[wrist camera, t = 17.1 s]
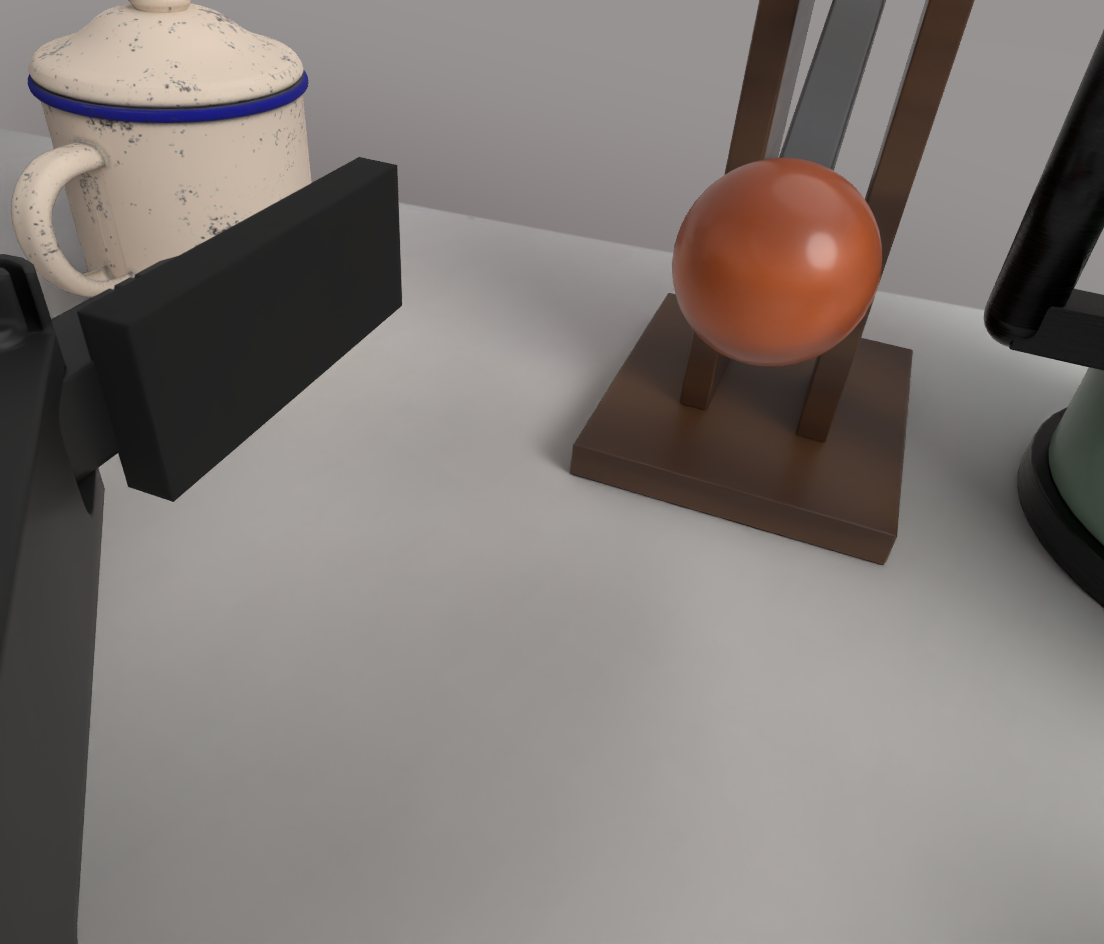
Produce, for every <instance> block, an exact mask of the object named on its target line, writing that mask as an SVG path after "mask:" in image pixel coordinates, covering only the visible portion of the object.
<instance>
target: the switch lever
mask: <svg viewBox="0 0 1104 944" xmlns="http://www.w3.org/2000/svg"><path fill="white" fill-rule="evenodd" d="M885 2H886V0H833V2H832V4H831V7H830V10H829V13H828V16H827V19H826V22H825V25H824V28H823V31H822V33H821V36H820V39H819V42H818V45H817V48H816V51H815V54H814V57H813V60H812V63H811V66H810V69H809V71H808V75H807V77H806V80H805V83H804V86H803V89H802V92H801V95H800V98H799V101H798V104H797V106H796V109H795V112H794V115H793V118H792V121H791V124H790V127H789V130H788V133H787V136H786V139H785V142H784V145H783V147H782V151H781V153H780V156H779V158H770V159H764V160H760V161H756V162H752V163H749V164H746V165H743V166H741V167H738V168H736V169H734V170H732V171H730V172H729V173H727V174H726V175H724V176H723V177H721V178H720V179H718V180H717V181H715V182H714V183H713V184H712V185H711V186H709V187H708V188H707V189H706V190H705V191H704V193H703V194H702V195H701V196H700V197H699V198H698V199H697V200H696V201H695V203H694V204H693V206H692V207H691V209H690V210H689V212H688V214H687V215H686V217H685V219H684V221H683V223H682V225H681V227H680V230H679V233H678V236H677V239H676V242H675V246H674V253H673V261H672V275H673V285H674V290H675V294H676V298H677V301H678V304H679V306H680V309H681V311H682V313H683V315H684V317H685V318H686V320H687V322H688V323H689V325H690V326H691V328H692V329H693V330H694V332H695V333H696V334H697V335H698V336H699V337H700V338H701V339H702V340H703V341H704V342H705V343H706V344H707V345H709V346H710V347H711V348H713V349H714V350H715V351H717V352H719V353H720V354H722V355H724V356H726V357H728V358H730V359H733V360H735V361H738V362H741V363H744V364H749V365H754V366H762V367H782V366H789V365H794V364H798V363H802V362H805V361H807V360H810V359H812V358H815V357H817V356H819V355H821V354H823V353H825V352H827V351H829V350H830V349H831V348H833V347H834V346H836V345H837V344H838V343H840V342H841V341H842V340H844V339H845V338H846V337H847V336H848V335H849V334H850V333H851V332H852V331H853V330H854V328H855V327H856V326H857V325H858V323H859V322H860V321H861V320H862V318H863V317H864V316H865V314H866V312H867V310H868V308H869V306H870V305H871V303H872V301H873V299H874V296H875V293H876V290H877V287H878V284H879V280H880V275H881V269H882V245H881V239H880V233H879V228H878V226H877V223H876V220H875V217H874V215H873V213H872V211H871V209H870V207H869V205H868V203H867V202H866V201H865V199H864V198H863V197H862V195H861V194H860V193H859V192H858V190H857V189H856V188H855V187H854V186H853V185H852V184H851V183H850V182H849V181H847V180H846V179H845V178H843V177H842V176H841V175H839V174H837V173H836V172H834V168H835V165H836V161H837V158H838V155H839V152H840V148H841V145H842V142H843V139H844V135H845V132H846V129H847V126H848V122H849V119H850V116H851V112H852V109H853V105H854V103H855V99H856V96H857V93H858V90H859V87H860V83H861V80H862V77H863V74H864V71H865V67H866V64H867V61H868V58H869V54H870V51H871V48H872V45H873V41H874V38H875V35H876V31H877V28H878V25H879V22H880V18H881V15H882V12H883V9H884V5H885Z"/></svg>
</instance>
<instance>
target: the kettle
mask: <svg viewBox="0 0 1104 944" xmlns="http://www.w3.org/2000/svg"><path fill="white" fill-rule="evenodd" d="M1103 228H1104V30H1103V33H1102V35H1101V38H1100V40H1099V42H1098V44H1097V47H1096V49H1095V52H1094V54H1093V56H1092V59H1091V61H1090V63H1089V66H1088V68H1087V70H1086V73H1085V75H1084V77H1083V80H1082V82H1081V84H1080V87H1079V89H1078V91H1077V94H1076V96H1075V98H1074V101H1073V103H1072V106H1071V108H1070V110H1069V112H1068V115H1067V117H1066V119H1065V122H1064V124H1063V126H1062V129H1061V131H1060V133H1059V136H1058V138H1057V140H1056V143H1055V145H1054V147H1053V150H1052V152H1051V154H1050V157H1049V159H1048V162H1047V164H1046V166H1045V169H1044V171H1043V173H1042V176H1041V178H1040V180H1039V183H1038V185H1037V187H1036V190H1035V192H1034V194H1033V197H1032V199H1031V202H1030V204H1029V206H1028V208H1027V211H1026V213H1025V215H1024V218H1023V220H1022V222H1021V225H1020V227H1019V230H1018V232H1017V234H1016V236H1015V239H1014V241H1013V243H1012V246H1011V248H1010V251H1009V253H1008V255H1007V258H1006V260H1005V262H1004V264H1003V267H1002V270H1001V272H1000V274H999V276H998V279H997V281H996V283H995V286H994V288H993V290H992V293H991V295H990V297H989V300H988V302H987V305H986V308H985V311H984V323H985V327H986V329H987V331H988V333H989V334H990V335H991V337H992V338H993V339H994V340H996V341H997V342H999V343H1000V344H1002V345H1005V346H1008V347H1009V348H1010V349H1012V350H1016V351H1020V352H1024V353H1029V354H1033V355H1038V356H1042V357H1046V358H1051V359H1055V360H1060V361H1064V362H1068V363H1073V364H1077V365H1082V366H1086V367H1089V368H1088V370H1087V372H1086V374H1085V376H1084V378H1083V380H1082V382H1081V383H1080V385H1079V387H1078V389H1077V391H1076V393H1075V395H1074V397H1073V398H1072V400H1071V402H1070V404H1069V406H1068V407H1067V408H1065V409H1063V410H1061V411H1059V412H1057V413H1055V414H1053V415H1052V416H1051V417H1050V418H1049V419H1047V420H1046V421H1045V422H1044V423H1043V424H1042V425H1041V426H1040V428H1039V429H1038V431H1037V432H1036V434H1035V435H1034V437H1033V439H1032V441H1031V443H1030V445H1029V447H1028V449H1027V451H1026V453H1025V455H1024V457H1023V458H1022V461H1021V464H1020V468H1019V471H1018V491H1019V496H1020V501H1021V505H1022V507H1023V509H1024V512H1025V514H1026V517H1027V519H1028V521H1029V523H1030V525H1031V526H1032V528H1033V530H1034V531H1035V533H1036V535H1037V536H1038V538H1039V540H1040V541H1041V543H1042V544H1043V545H1044V546H1045V548H1046V549H1047V550H1048V551H1049V553H1050V554H1051V555H1052V557H1053V558H1054V559H1055V560H1056V562H1057V563H1058V564H1059V565H1060V566H1061V567H1062V568H1063V569H1064V570H1065V571H1066V572H1067V573H1068V574H1069V575H1070V576H1071V577H1072V578H1073V579H1074V580H1075V581H1076V582H1077V583H1078V584H1079V585H1080V586H1081V587H1082V588H1083V589H1084V590H1086V591H1087V592H1088V593H1089V594H1090V595H1091V596H1092V597H1094V598H1095V599H1096V600H1097V601H1098V602H1099V603H1100V604H1102V605H1103V606H1104V295H1101V294H1096V293H1092V292H1086V291H1082V290H1077V289H1074V287H1075V285H1076V283H1077V281H1078V279H1079V277H1080V275H1081V273H1082V271H1083V269H1084V267H1085V265H1086V262H1087V261H1088V259H1089V256H1090V255H1091V252H1092V250H1093V248H1094V246H1095V244H1096V242H1097V240H1098V238H1099V236H1100V234H1101V232H1102V230H1103Z"/></svg>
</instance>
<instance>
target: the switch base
mask: <svg viewBox="0 0 1104 944" xmlns="http://www.w3.org/2000/svg"><path fill="white" fill-rule="evenodd" d="M814 2H815V0H759V5H758V10H757V15H756V20H755V26H754V30H753V35H752V40H751V45H750V50H749V55H748V60H747V65H746V70H745V75H744V80H743V85H742V90H741V95H740V100H739V105H738V110H737V115H736V120H735V125H734V130H733V136H732V140H731V145H730V150H729V156H728V160H727V165H726V170H725V175H726V174H727V173H729V172H730V171H732V170H734V169H736V168H738V167H741V166H743V165H746V164H749V163H752V162H756V161H760V160H764V159H770V158H778V155H779V151H780V147H781V142H782V138H783V134H784V129H785V125H786V121H787V117H788V112H789V108H790V104H791V100H792V95H793V91H794V87H795V82H796V78H797V74H798V70H799V66H800V61H801V57H802V53H803V48H804V44H805V40H806V36H807V32H808V27H809V23H810V19H811V15H812V10H813V6H814ZM973 3H974V0H926V1H925V4H924V8H923V11H922V14H921V17H920V21H919V24H918V27H917V31H916V34H915V37H914V40H913V44H912V47H911V50H910V53H909V57H908V60H907V63H906V67H905V70H904V73H903V76H902V80H901V83H900V86H899V89H898V93H897V96H896V99H895V102H894V106H893V109H892V112H891V116H890V119H889V122H888V125H887V129H886V132H885V136H884V138H883V142H882V145H881V148H880V152H879V155H878V158H877V161H876V165H875V168H874V171H873V175H872V178H871V181H870V184H869V188H868V191H867V194H866V197H865V201H866V202H867V203H868V205H869V207H870V209H871V211H872V213H873V215H874V217H875V220H876V223H877V226H878V228H879V233H880V239H881V245H882V269H881V275H880V279H881V276H882V274H883V271H884V267H885V264H886V262H887V259H888V256H889V253H890V250H891V247H892V244H893V241H894V238H895V235H896V232H897V229H898V226H899V223H900V220H901V217H902V214H903V211H904V208H905V205H906V202H907V199H908V196H909V193H910V190H911V187H912V184H913V181H914V178H915V176H916V172H917V170H918V167H919V163H920V161H921V158H922V155H923V152H924V149H925V146H926V143H927V140H928V137H929V134H930V131H931V128H932V125H933V122H934V119H935V116H936V113H937V110H938V107H939V104H940V101H941V98H942V95H943V92H944V89H945V86H946V83H947V81H948V78H949V75H950V71H951V69H952V65H953V63H954V60H955V57H956V54H957V51H958V48H959V45H960V41H961V39H962V36H963V33H964V30H965V27H966V24H967V21H968V18H969V15H970V12H971V9H972V6H973ZM879 282H880V280H879ZM878 285H879V284H878ZM877 288H878V287H877ZM876 291H877V290H876ZM875 294H876V293H875ZM874 297H875V296H874ZM873 300H874V299H873ZM872 303H873V301H872ZM872 303H871V305H870V306H869V308H868V310H867V312H866V314H865V316H864V317H863V318H862V320H861V321H860V322H859V323H858V325H857V326H856V327H855V328H854V330H853V331H852V332H851V333H850V334H849V335H848V336H847V337H846V338H845V339H844V340H842V341H841V342H840V343H838V344H837V345H836V346H834V347H833V348H831V349H830V350H829V351H827V352H825V353H823V354H821V355H819V356H817V357H815V358H812V359H810V360H807V361H805V362H802V363H798V364H794V365H789V366H782V367H762V366H754V365H749V364H744V363H741V362H738V361H735V360H733V359H730V358H728V357H726V356H724V355H722V354H720V353H719V352H717V351H715V350H714V349H713V348H711V347H710V346H709V345H707V344H706V343H705V342H704V341H703V340H702V339H701V338H700V337H699V336H698V335H697V334H696V333H695V332H694V330H693V329H692V328H691V326H690V325H689V323H688V322H687V320H686V318H685V317H684V315H683V313H682V311H681V309H680V306H679V304H678V301H677V298H676V294H671V293H668V294H667V296H666V298H665V299H664V301H663V302H662V304H661V305H660V307H659V309H658V310H657V312H656V313H655V315H654V317H653V318H652V320H651V321H650V323H649V325H648V326H647V328H646V329H645V331H644V333H643V334H642V336H641V337H640V339H639V341H638V342H637V344H636V345H635V347H634V349H633V350H632V352H631V353H630V355H629V357H628V358H627V360H626V361H625V363H624V365H623V366H622V368H621V369H620V371H619V373H618V374H617V376H616V377H615V379H614V381H613V382H612V384H611V385H610V387H609V389H608V390H607V392H606V393H605V395H604V396H603V398H602V400H601V401H600V403H599V404H598V406H597V408H596V409H595V411H594V412H593V414H592V416H591V417H590V419H589V420H588V422H587V424H586V425H585V427H584V428H583V430H582V432H581V433H580V435H579V436H578V438H577V440H576V441H575V443H574V444H573V451H572V460H571V469H570V473H571V474H574V475H578V476H581V477H585V478H588V479H591V480H595V481H598V482H602V483H605V484H609V485H612V486H615V487H619V488H622V489H626V490H629V491H632V492H636V493H639V494H643V495H646V496H649V497H653V498H656V499H660V500H663V501H667V502H670V503H673V504H677V505H680V506H684V507H687V508H690V509H694V510H697V511H701V512H704V513H708V514H711V515H714V516H718V517H721V518H725V519H728V520H731V521H735V522H738V523H742V524H745V525H749V526H752V527H755V528H759V529H762V530H766V531H769V532H772V533H776V534H779V535H783V536H786V537H789V538H793V539H796V540H800V541H803V542H807V543H810V544H813V545H817V546H820V547H824V548H827V549H830V550H834V551H837V552H841V553H844V554H848V555H851V556H854V557H858V558H861V559H865V560H868V561H871V562H875V563H878V564H882V565H884V564H885V563H886V561H887V558H888V556H889V554H890V551H891V549H892V547H893V544H894V542H895V540H896V538H897V529H898V517H899V505H900V494H901V482H902V470H903V459H904V447H905V435H906V424H907V412H908V400H909V389H910V377H911V365H912V354H913V350H911V349H907V348H902V347H898V346H894V345H890V344H885V343H881V342H877V341H872V340H868V339H864V338H861V336H862V333H863V330H864V327H865V324H866V321H867V318H868V315H869V312H870V309H871V306H872Z"/></svg>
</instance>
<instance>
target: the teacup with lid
mask: <svg viewBox="0 0 1104 944" xmlns="http://www.w3.org/2000/svg"><path fill="white" fill-rule="evenodd" d="M129 2H130V3H128V4H123V5H119V6H116V7H113V8H110V9H108V10H106V11H104V12H102V13H101V14H99V15H98V16H96V17H95V18H94V19H93V20H92V21H91V22H90V23H88V24H87V25H86V26H85V27H84V28H83V29H81V30H80V31H78V32H76V33H74V34H70V35H67V36H64V37H61V38H57V39H55V40H53V41H50V42H48V43H46V44H45V45H43V46H41V47H40V48H39V49H38V50H37V51H36V52H35V53H34V54H33V56H32V58H31V61H30V64H29V73H30V74H29V77H28V86H29V89H30V91H31V93H32V94H33V95H34V96H35V97H36V98H37V99H39V100H40V101H41V103H42V107H43V110H44V114H45V118H46V121H47V125H48V128H49V132H50V136H51V139H52V143H53V146H54V149H53V150H50V151H48V152H46V153H44V154H42V155H41V156H39V157H37V158H36V159H35V160H33V161H32V162H31V163H30V164H29V165H28V166H27V167H26V169H25V170H24V172H23V173H22V175H21V176H20V178H19V180H18V182H17V184H16V187H15V189H14V193H13V197H12V204H11V214H12V222H13V226H14V230H15V234H16V236H17V239H18V242H19V244H20V246H21V248H22V250H23V252H24V254H25V255H26V257H27V259H28V260H29V261H30V262H31V263H32V264H34V267H35V269H36V270H37V271H38V272H39V273H40V274H41V275H42V276H43V277H44V278H45V279H46V280H48V281H49V282H50V283H52V284H53V285H55V286H56V287H58V288H60V289H62V290H65V291H67V292H70V293H73V294H76V295H80V296H85V297H94V296H96V295H98V294H100V293H102V292H103V291H105V290H107V289H109V288H110V289H114V285H116V284H118V283H120V282H122V281H124V280H126V279H127V278H129V277H131V278H134V277H135V274H137V273H139V272H140V271H142V270H144V269H146V268H148V267H150V266H152V265H153V264H155V263H157V262H159V261H161V260H165V259H168V258H172V257H176V256H179V255H181V254H183V253H184V252H186V251H188V250H190V249H192V248H194V247H195V246H197V245H199V244H201V243H203V242H205V241H206V240H208V239H210V238H212V237H214V236H216V235H217V234H219V233H221V232H223V231H225V230H227V229H228V228H230V227H232V226H234V225H236V224H238V223H239V222H241V221H243V220H245V219H247V218H249V217H250V216H252V215H254V214H256V213H258V212H259V211H261V210H263V209H265V208H267V207H269V206H270V205H272V204H274V203H276V202H278V201H280V200H281V199H283V198H285V197H287V196H289V195H291V194H292V193H294V192H296V191H298V190H300V189H302V188H303V187H305V186H307V185H309V184H311V175H310V164H309V154H308V144H307V134H306V125H305V124H306V123H305V114H304V103H303V93H304V92H305V91H306V89H307V87H308V77H307V74H306V72H305V71H304V70H303V65H302V62H301V61H300V59H299V57H298V56H297V55H296V53H295V52H294V51H293V50H292V49H290V48H289V47H288V46H286V45H285V44H283V43H281V42H279V41H277V40H274V39H271V38H269V37H266V36H262V35H259V34H254V33H251V32H249V31H247V30H245V29H244V28H242V27H240V26H239V25H238V24H236V23H235V22H233V21H232V20H231V19H229V18H228V17H226V16H224V15H223V14H221V13H219V12H217V11H215V10H213V9H210V8H207V7H203V6H200V5H196V4H190V2H191V0H129ZM63 186H65V190H66V193H67V197H68V200H69V204H70V208H71V211H72V215H73V218H74V222H75V226H76V229H77V233H78V236H79V240H80V244H81V247H82V251H83V254H84V258H85V262H86V265H87V269H88V272H85V273H79V272H78V271H77V270H76V269H75V268H74V267H73V266H72V265H71V264H70V263H69V262H68V260H67V259H66V258H65V256H64V255H63V253H62V251H61V249H60V247H59V245H58V243H57V240H56V237H55V234H54V230H53V225H52V209H53V205H54V202H55V200H56V197H57V196H58V194H59V192H60V190H61V189H62V188H63Z"/></svg>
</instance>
